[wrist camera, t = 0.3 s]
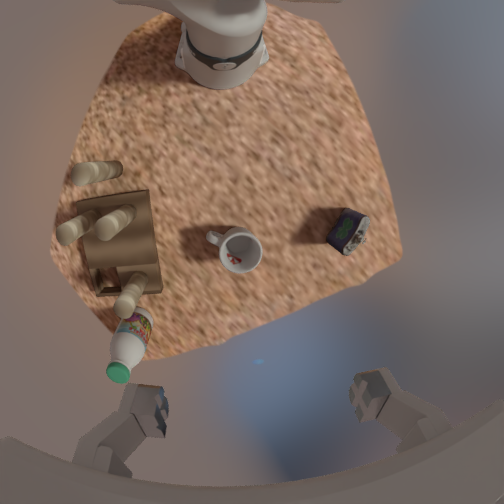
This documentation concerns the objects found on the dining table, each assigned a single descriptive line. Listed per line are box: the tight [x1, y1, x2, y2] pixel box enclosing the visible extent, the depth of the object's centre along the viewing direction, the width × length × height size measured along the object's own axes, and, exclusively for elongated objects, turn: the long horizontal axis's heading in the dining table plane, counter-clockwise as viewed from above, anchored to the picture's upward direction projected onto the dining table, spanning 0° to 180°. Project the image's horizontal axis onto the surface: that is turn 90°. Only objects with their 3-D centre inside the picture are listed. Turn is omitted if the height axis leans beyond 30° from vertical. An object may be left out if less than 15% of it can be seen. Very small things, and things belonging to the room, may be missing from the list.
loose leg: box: [71, 161, 123, 186], centre depth 41 cm, size 4×4×16 cm
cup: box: [206, 227, 262, 273], centre depth 53 cm, size 11×8×8 cm
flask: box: [326, 208, 370, 256], centre depth 54 cm, size 9×3×11 cm, turn 149°
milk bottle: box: [106, 307, 153, 383], centre depth 51 cm, size 8×8×20 cm
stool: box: [56, 190, 163, 319], centre depth 46 cm, size 22×16×16 cm
